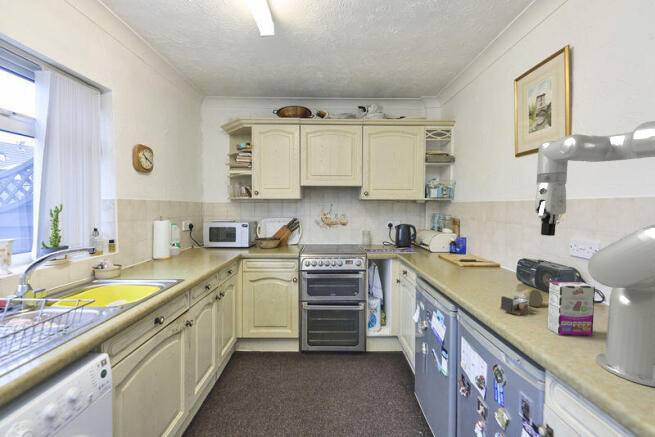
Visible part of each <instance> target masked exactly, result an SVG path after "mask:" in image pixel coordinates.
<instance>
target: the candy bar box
mask: <svg viewBox="0 0 655 437" xmlns="http://www.w3.org/2000/svg"><path fill="white" fill-rule="evenodd" d="M548 283H549V286H548V287H549V288H548V291H549V292H548V309H547V310H548V311H547V329H548V330H549V331H551V332H553V333H554V334H556V335H558V336H576V337H577V336H587V337H588V336H589V337H590V336H593V335H594V313H595V312H594V311H595V297H596V296H595V295H596V294H595V293H596V286H595V285H592V284H589V283H586V282H580V281H579V282H578V281H577V282H575V281H574V282H573V281H572V282H571V281H569V282H567V281H566V282H565V281H562V282H559V281H550V282H548Z"/></svg>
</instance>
